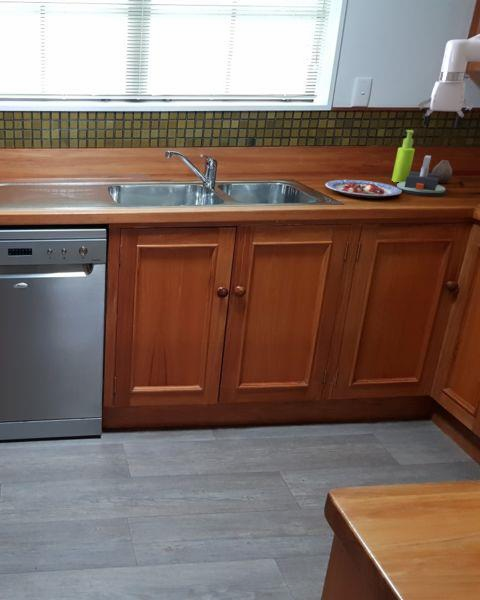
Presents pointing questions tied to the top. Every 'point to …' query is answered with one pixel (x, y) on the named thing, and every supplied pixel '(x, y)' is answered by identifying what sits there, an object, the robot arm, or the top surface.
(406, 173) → the soap dispenser
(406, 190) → the turntable base
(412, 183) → the dish rack
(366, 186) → the ceramic plate
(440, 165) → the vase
